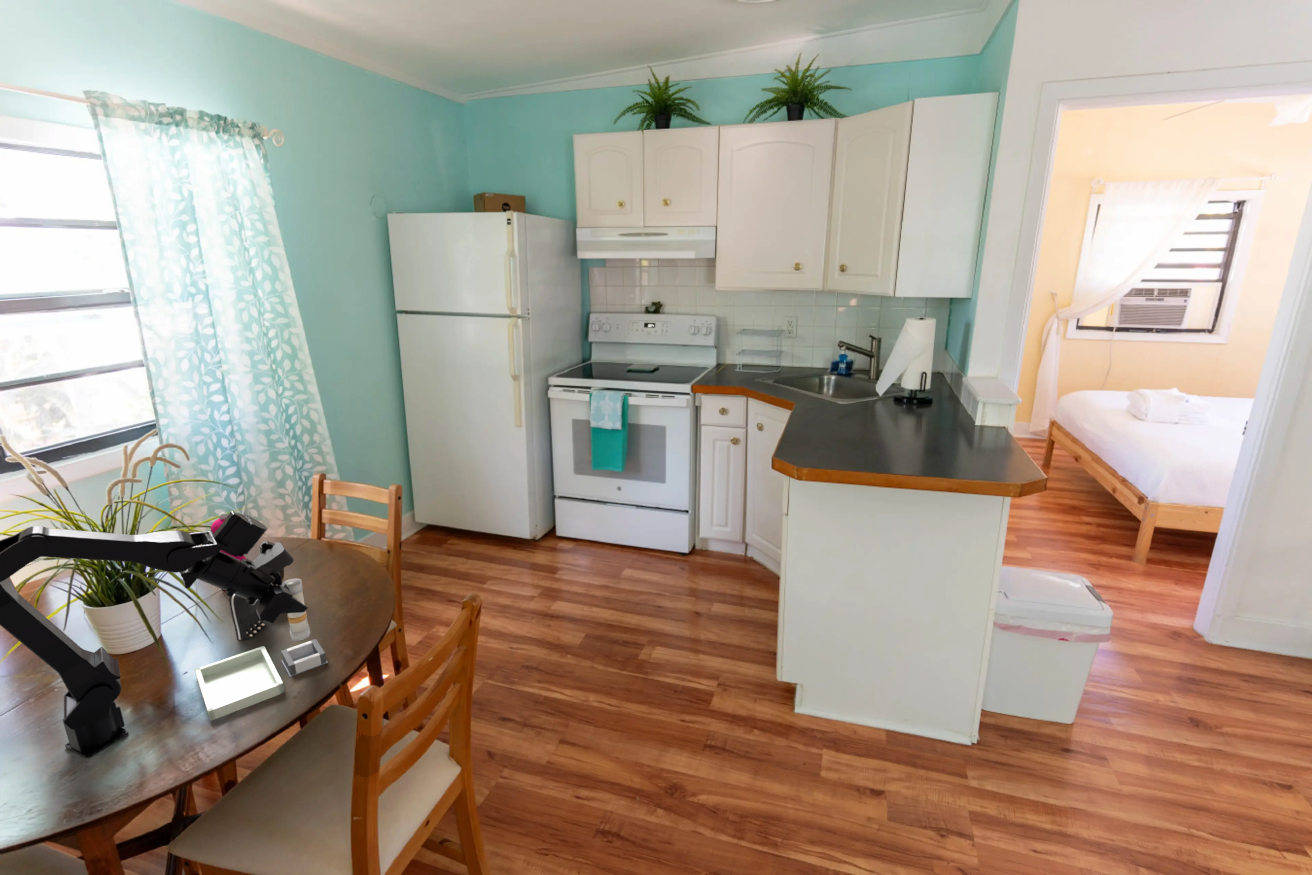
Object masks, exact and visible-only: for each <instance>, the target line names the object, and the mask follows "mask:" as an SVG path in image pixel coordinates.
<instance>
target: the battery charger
mask: <svg viewBox="0 0 1312 875" xmlns="http://www.w3.org/2000/svg"><path fill="white" fill-rule="evenodd" d="M228 601H229V602H228V604H229V607H230V608H229V609H230V614H231V618H232V623H233V626H234V629H235V630H234V631H235V635H236V640H239V641H244V640H245V641H247V640H251V639H253V638H254V637H256V636H257V635H258V634H259V633H260V632H261V631H262V630H263V629H264V628H266V627H267V623H264V622H262V621H260V619H259V617H258V615H257V612H256V606H257V605H258V604H259V603H260V601H259V600H258V599H257V600H256V601H255V603H254V604H253V605H251V604H248V603H247V601H246V599H244V598H242V597H240V596H237V595H235V594H234V595H233V596H232V597H231V596H229V599H228Z"/></svg>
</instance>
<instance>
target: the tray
mask: <svg viewBox="0 0 1312 875" xmlns="http://www.w3.org/2000/svg"><path fill="white" fill-rule="evenodd" d="M194 673H195V677H196V680H197V683H198V686H199V689H200V692H201V696H202V699H203V703H204V706H205V709H206V712H207V715H208V719H209V721H210V722H212V721H214V720H217V719H220V718H222V717H225V716H227V715H230V714H232V713H235V712H238V711H240V710H243V709H245V708H248V707H251V706H254V705H256V704H259V703H261V702H264V701H266V700H268V699H271V698H275V697H277V696H279V695H282V694H284V693H285V692H286V691H285V686H284V681H283V680H282V678H281V676H280V675H279V672H278V671H277V668H276V667H275V664H274V662H273V661H272V658H271V657H270V655H269V653H268V651H267V649H266V647H265V645H262V646H260V647H256V648H252V649H251V650H250V649H249V650H248V651H247V650H246V651H245V652H242V653H238V654H235V655H232V656H230V657H227V658H224V659H221V660H218V661H215V662H212V663H209V664H207V665H204V666H200V667H197V668H194Z"/></svg>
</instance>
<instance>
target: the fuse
mask: <svg viewBox="0 0 1312 875" xmlns="http://www.w3.org/2000/svg"><path fill="white" fill-rule="evenodd" d="M285 584H286V585H287V586H288V588H289V590H290V592H291V594H292V595H293V596H292V597H294V598H295V599H297V600H298V601H300V602H301V603H302V604H304V605H305V599H304V594H303V590H304V588H303V581H302V579H301V578H290V579H288V580H284V582H283V583H282V586H284V585H285ZM305 606H306V605H305ZM286 615H287V621H288V625H289V635H290V636H289V637H290V640H291V641H293V642H299V641H302V640H305V639H308V638H309V637H310V635H311V631H310V630H311V629H310V624H309V623H308V614H307V610H306V611H305V612H301V613H286Z"/></svg>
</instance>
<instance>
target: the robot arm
mask: <svg viewBox="0 0 1312 875" xmlns="http://www.w3.org/2000/svg"><path fill="white" fill-rule="evenodd" d="M267 530H268V527H267V526H266V525H265V524H263V523H262V522H260V521H259V520H258V519H255V518H254V517H252V516H250V515H248V514H247V515H245V514H244V513H243V514H242V513H238V512H236V511H234V510H231V511H230V512H229V513H227V517H226V519H225V521H224V522H223V523H222V524H221V526H220V527H219V528H218V529H217V530H216V532H215V533H214V534H213V532H212V531H211V530H206V531H198V532H187V531H183V530H162V531H153V532H148V533H144V534H126V533H125V534H124V533H116V532H115V533H112V532H103V531H88V530H77V529H75V530H74V529H64V528H63V529H62V528H60V529H59V528H50V527H47V526H41V525H35V526H34V525H33V526H30V527H27V528H25V529H23V530H22V531H20V532H17V533H16V534H14V535H11V536H8V537H5V538H3V539H2V538H1V539H0V626H1V627H2V629H4V630H5V631H7V632H8V633H9V634H10V635H12V636H13V637H14V638H15V639H16V640H17V641H18V642H19V643H21V644H22V645H23V646H25V647H26V648H27V649H28V650H29V651H31V652H32V653H33V654H34V655H35V656H36V657H38V658H39V659H41V660H42V661H43V662H44V663H45V664H47V665H48V666H49V667H51V668H52V669H53V670H54V671H55V672H56V673H57V674H58V675H59V677H60V678H61V680H62V682H63V684H64V686H65V687H66V690H67V692H66V693H65V694H64V695H63V718H62V724H63V727H64V730H65V734H66V736H67V740H68V742H67V743H66V744H64V747H65V749H67V750H69V751H71V752H73V753H75V754H78V755H79V756H81V757H82V758H90V757H93V756H94V755H95V754H97V753H99V752H100V751H102V750H104V749H105V748H107V747H109V746H110V745H111V746H112V744H114V743H115V742H118V741H119V740H120V739H122V738H124V737H125V736H127V735H129V730H128V729H126V728H125V725H126V724H125V721H124V720H125V719H124V717H123V714H122V713H123V712H122V709H121V707H120V706H118V705H117V704H116V701H115V700H117V699H118V697H119V696H120V694H121V691H122V684H121V673H120V665H119V659H117V658H115V657H113V656H111V655H110V654H108V652H107V650H106V649H105V648H104V647H103V646H101V647H99V648H98V649H96V650H95V651H91V650H90V651H89V650H86V649H84V648H82V647H81V646H80V645H78V644H77V643H76V642H75V641H74V640H73V639H72V638H70V637H69V636H68V635H67V634H66V633H65V632H64V631H63V630H61V629H60V628H59V627H58V626H57V625H55V624H54V623H53V622H52V621H51V620H50V619H49V618H47V617H46V616H45V615H44V614H43V613H42V612H41V611H40V610H38V609H37V608H36V607H35V606H34V605H32V604H31V603H30V602H29V601H28V600H27V599H25V598H24V597H23V596H22V595H21V594H20V593H19V592H18V591H17V589H16V588H15V585H14V583H13V582H12V580H11V578H10V577H11V576H13V575H15V574H16V573H17V572H19V571H20V570H21V569H23V568H25V567H26V566H28V565H29V564H30V563H31V562H34V561H36V560H37V559H39V558H55V559H57V558H59V559H60V558H61V559H74V560H75V559H78V560H96V561H110V562H111V561H113V562H115V561H116V562H130V563H135V564H138V565H141V566H145V567H148V568H151V569H153V570H159V571H164V572H169V573H174V574H176V573H177V574H178V573H179V574H180V577H181V578H182V582H183V585H184V587H185V589H189V588H191V587H192V586H193V584H194V583H195V582H196V580H199V581H202V582H204V583H206V584H209V585H211V586H213V587H216V588H219V589H220V590H222V589H223V590H225V591H224V592H225V593H226V595H227V596H229V597H230V596H231V597H232V596H233V595H234V594H235V595H237V596H240V597H242V598H244V599H246V601H247V603H248V604H251V605H253V604H254V603H255V601H256V600H257V599H258V600H259V601H260V603H259V604H258V605H257V606H256V612H257V615H258V617H259V619H260V621H262V622H264V623H266V625H272V624H274V622H276V620H277V618H278V617H279V616H280V615H283V614H287V613H301V612H305V611H306V612H307V610H308V606H307V605H304V604H305V603H304V604H302V603H301V602H300V601H298V600H297V599H295V598H294V597H292V596H293V595H292V594H291V592H290V590H289V588H288V586H287V585H286V584H285V585H284V586H282V581H281V576H280V574H279V573H278V572H279V571H280V570H282V569H283V568H284V569H285V568H286V567H288V566H291V565H292V564H293V562H294V561H295V559H294V557H293V556H292V555H291V554H290V553H289V551H288V550H287V549H286V547H285V546H284V545H283V544H282V543H281V542H277V541H276V542H274V543H273V542H270V541H267V540H264V541H263V542H262V543H261V544H259V552H260V553H258V554H257V557H256V558H255V559H254V560H250V559H248V558H247V559H242V561H240V560H238V559H236V558H234V557H232V556H230V555H233V556H236V557H238V556H243V555H244V556H245V555H247V554H249V552H250V551H251V550H252V549H253V548H254V547H255V546H256V545H257V543H258V542H259V540H260V539H261V538H262V536H263V535H265V533H266V532H267ZM220 550H223V551H225V552H226V553H228V554H230V555H227V554H225V553H223V552H221V551H220ZM271 575H272V576H271ZM223 590H222V591H223Z"/></svg>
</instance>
